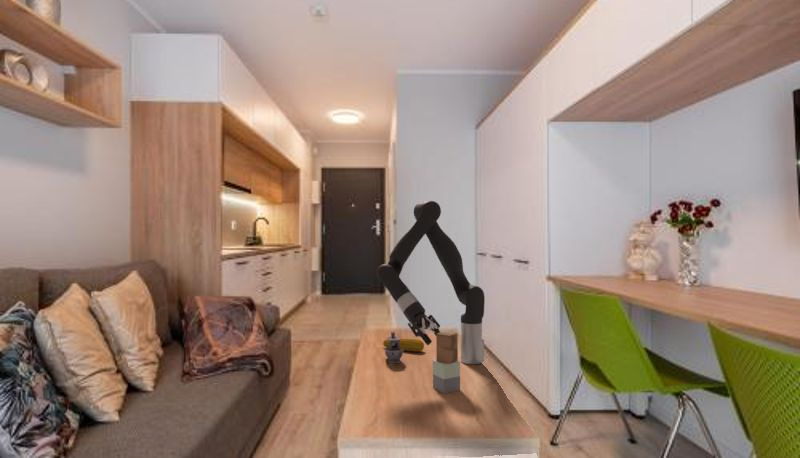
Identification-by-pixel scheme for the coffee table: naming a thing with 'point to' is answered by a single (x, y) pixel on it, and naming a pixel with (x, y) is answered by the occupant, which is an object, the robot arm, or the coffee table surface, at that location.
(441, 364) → the tower top
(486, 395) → the coffee table surface
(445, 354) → the walnut block
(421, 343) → the food
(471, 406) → the coffee table surface
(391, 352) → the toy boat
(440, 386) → the tower base
